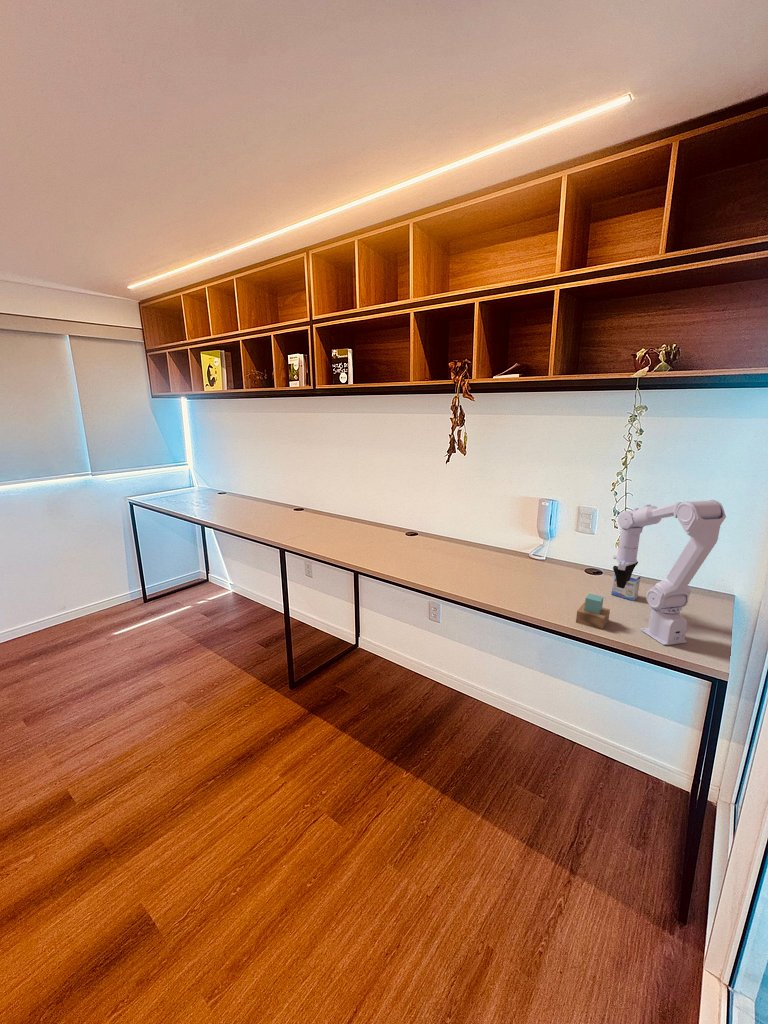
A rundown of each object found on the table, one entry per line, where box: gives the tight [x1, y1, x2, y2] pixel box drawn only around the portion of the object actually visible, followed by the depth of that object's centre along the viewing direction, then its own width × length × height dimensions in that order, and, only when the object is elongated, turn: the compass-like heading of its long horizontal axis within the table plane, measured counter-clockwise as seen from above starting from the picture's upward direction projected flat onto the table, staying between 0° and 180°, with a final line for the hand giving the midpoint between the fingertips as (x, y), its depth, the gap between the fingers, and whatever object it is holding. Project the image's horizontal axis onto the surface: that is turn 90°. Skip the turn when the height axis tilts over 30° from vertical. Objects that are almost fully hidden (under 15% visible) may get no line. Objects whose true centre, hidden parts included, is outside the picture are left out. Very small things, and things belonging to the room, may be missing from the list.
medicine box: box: [610, 572, 641, 602], centre depth 161 cm, size 8×4×9 cm, turn 45°
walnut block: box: [575, 602, 611, 631], centre depth 142 cm, size 8×8×4 cm
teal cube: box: [584, 593, 605, 614], centre depth 142 cm, size 4×4×4 cm
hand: (623, 583), depth 149 cm, fingers open, 7 cm apart
